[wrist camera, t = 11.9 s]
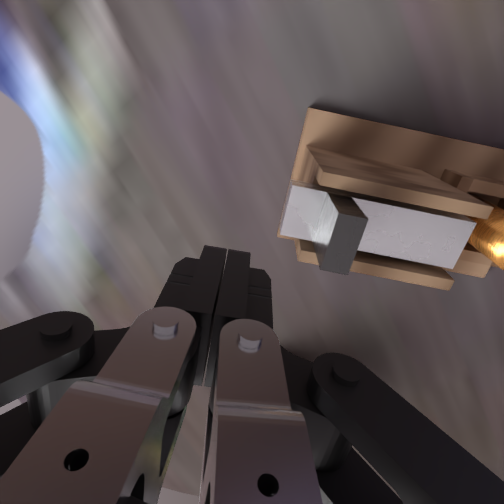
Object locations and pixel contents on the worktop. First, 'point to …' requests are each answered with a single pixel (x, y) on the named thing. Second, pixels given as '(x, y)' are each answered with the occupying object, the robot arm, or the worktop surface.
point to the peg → (489, 234)
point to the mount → (400, 183)
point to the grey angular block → (371, 227)
